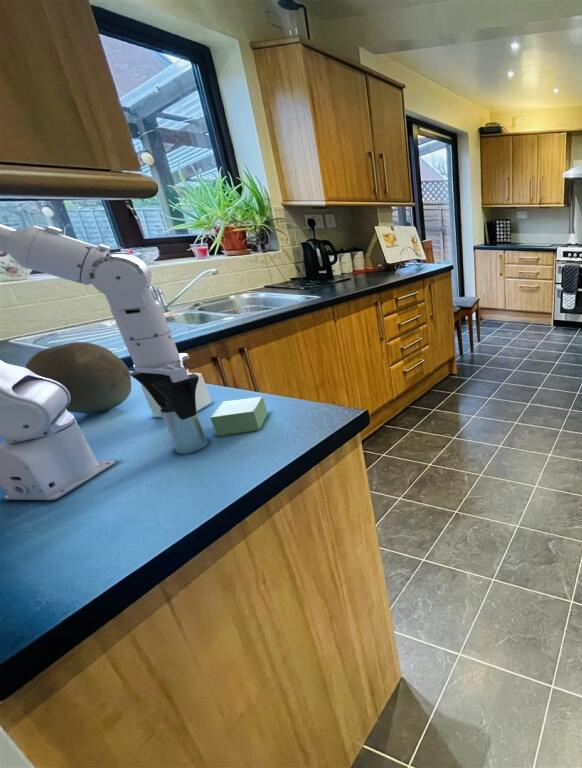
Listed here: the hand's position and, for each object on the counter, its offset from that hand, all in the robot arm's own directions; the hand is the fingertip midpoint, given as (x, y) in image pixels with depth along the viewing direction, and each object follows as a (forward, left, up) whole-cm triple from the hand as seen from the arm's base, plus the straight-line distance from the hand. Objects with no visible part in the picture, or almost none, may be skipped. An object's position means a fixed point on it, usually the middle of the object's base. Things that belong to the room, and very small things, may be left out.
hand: (178, 411), depth 68 cm
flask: (0, 0, -7) cm, 7 cm away
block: (+8, -4, -7) cm, 11 cm away
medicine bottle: (+14, +13, -7) cm, 20 cm away
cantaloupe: (+13, +31, -7) cm, 34 cm away
